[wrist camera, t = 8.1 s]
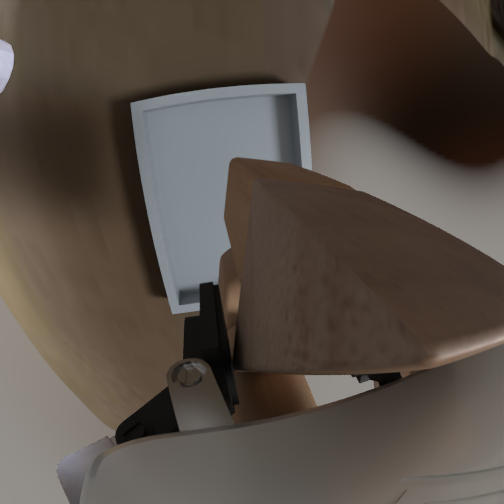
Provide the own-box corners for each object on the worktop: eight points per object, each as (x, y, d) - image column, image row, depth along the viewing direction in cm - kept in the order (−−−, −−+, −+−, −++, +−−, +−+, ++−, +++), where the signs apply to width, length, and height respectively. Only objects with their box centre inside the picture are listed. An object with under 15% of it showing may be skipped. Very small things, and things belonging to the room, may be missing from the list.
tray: (137, 105, 24) (130, 103, 22) (295, 87, 26) (305, 83, 24) (174, 299, 33) (172, 314, 31) (305, 278, 35) (314, 290, 32)
